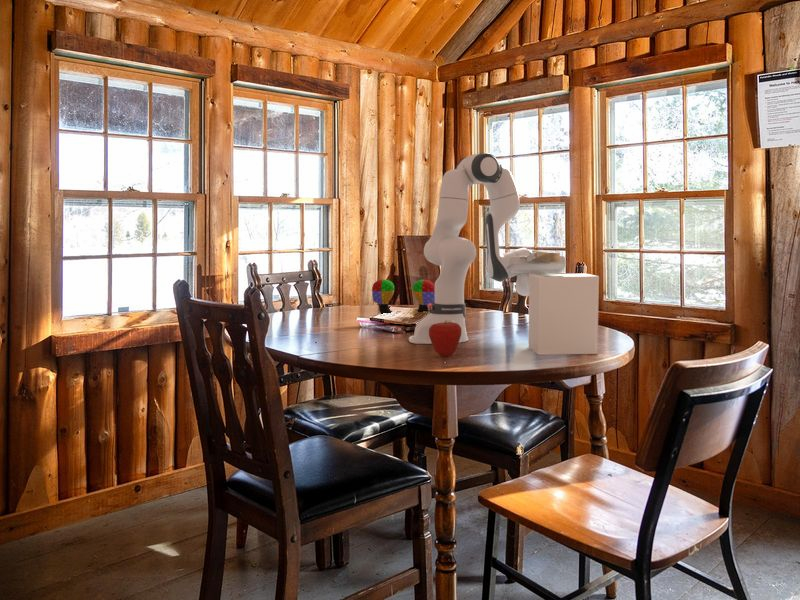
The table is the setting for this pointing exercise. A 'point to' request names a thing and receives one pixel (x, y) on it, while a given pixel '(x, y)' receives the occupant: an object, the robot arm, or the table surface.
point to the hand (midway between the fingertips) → (541, 254)
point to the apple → (445, 337)
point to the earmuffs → (385, 291)
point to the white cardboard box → (563, 313)
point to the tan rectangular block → (547, 256)
